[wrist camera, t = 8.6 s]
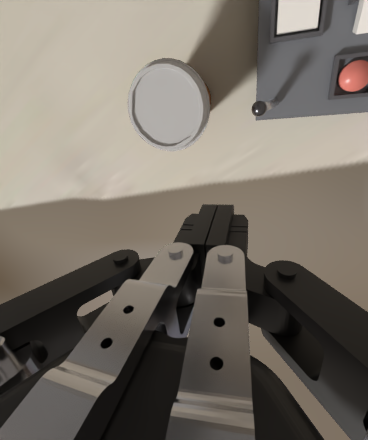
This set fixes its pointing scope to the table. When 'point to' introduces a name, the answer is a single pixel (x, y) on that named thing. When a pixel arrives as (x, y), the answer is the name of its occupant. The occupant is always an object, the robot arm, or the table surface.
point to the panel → (309, 62)
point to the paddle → (297, 15)
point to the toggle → (264, 106)
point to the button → (353, 76)
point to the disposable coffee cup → (169, 104)
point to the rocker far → (361, 18)
